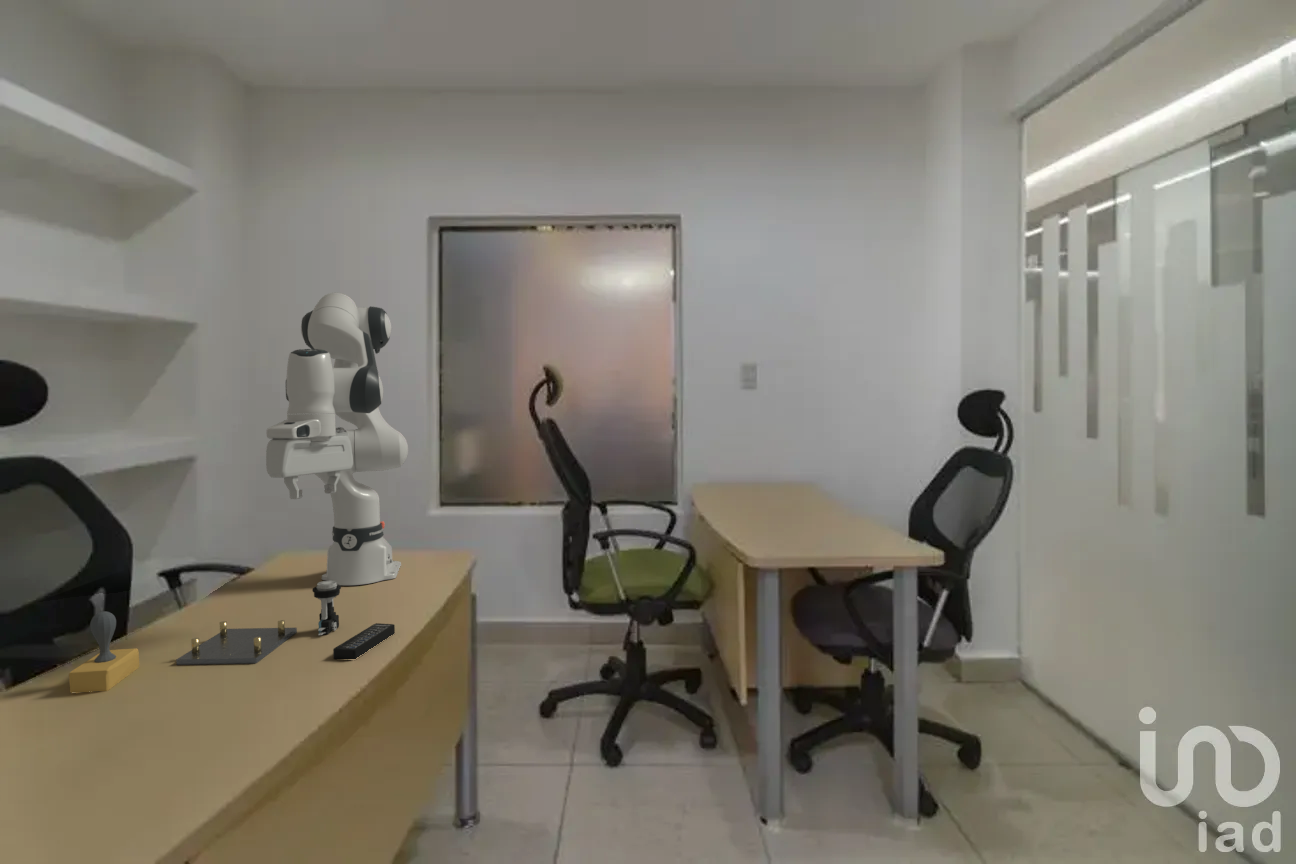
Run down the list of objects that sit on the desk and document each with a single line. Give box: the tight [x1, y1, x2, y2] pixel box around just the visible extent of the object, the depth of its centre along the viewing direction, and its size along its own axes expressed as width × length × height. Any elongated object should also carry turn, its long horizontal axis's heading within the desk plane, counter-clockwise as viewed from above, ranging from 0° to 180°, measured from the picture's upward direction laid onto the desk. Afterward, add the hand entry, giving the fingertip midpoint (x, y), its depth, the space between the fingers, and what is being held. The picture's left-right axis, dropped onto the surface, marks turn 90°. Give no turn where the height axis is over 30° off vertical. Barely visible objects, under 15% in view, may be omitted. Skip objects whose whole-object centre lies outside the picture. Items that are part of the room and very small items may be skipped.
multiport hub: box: [332, 622, 396, 660], centre depth 135 cm, size 4×14×2 cm, turn 171°
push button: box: [311, 580, 342, 636], centre depth 142 cm, size 7×5×10 cm
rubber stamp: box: [68, 610, 140, 694], centre depth 118 cm, size 10×6×12 cm, turn 11°
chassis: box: [175, 619, 298, 666], centre depth 133 cm, size 16×14×4 cm
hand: (313, 495), depth 142 cm, fingers open, 8 cm apart
